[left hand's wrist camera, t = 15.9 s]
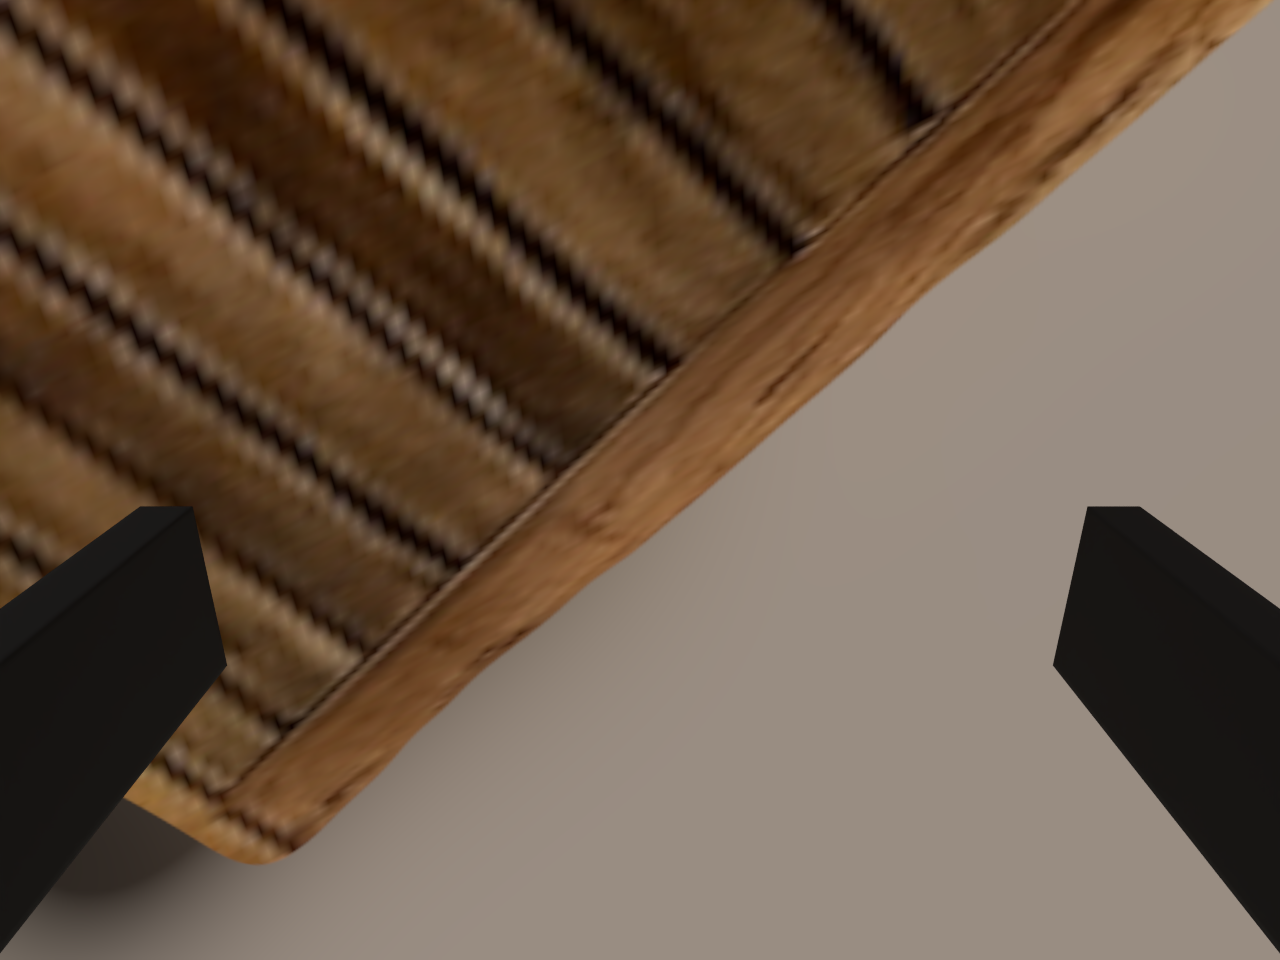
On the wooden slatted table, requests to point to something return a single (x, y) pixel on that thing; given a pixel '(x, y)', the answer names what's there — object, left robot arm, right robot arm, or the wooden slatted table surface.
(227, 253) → the wooden slatted table surface
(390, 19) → the wooden slatted table surface
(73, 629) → the left robot arm
